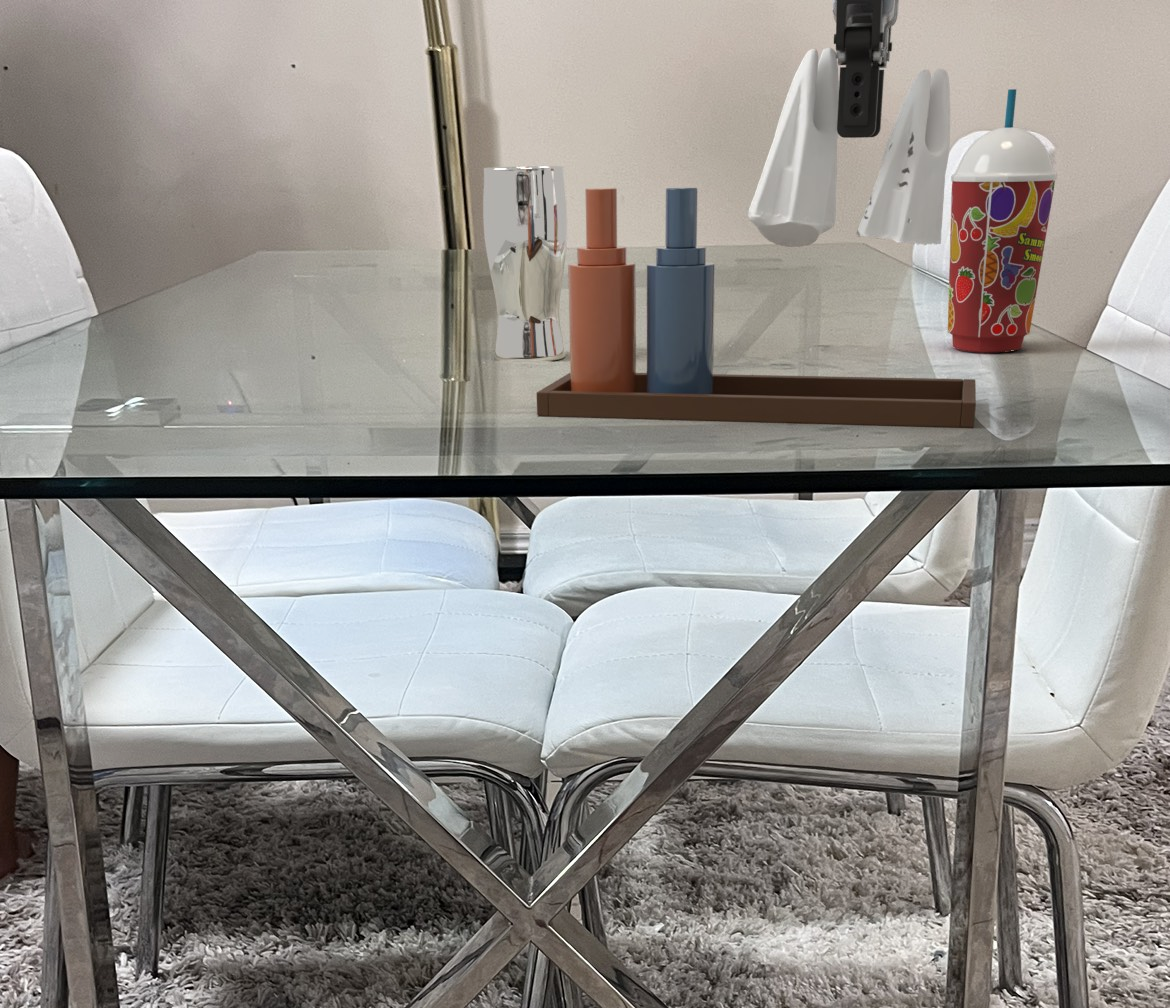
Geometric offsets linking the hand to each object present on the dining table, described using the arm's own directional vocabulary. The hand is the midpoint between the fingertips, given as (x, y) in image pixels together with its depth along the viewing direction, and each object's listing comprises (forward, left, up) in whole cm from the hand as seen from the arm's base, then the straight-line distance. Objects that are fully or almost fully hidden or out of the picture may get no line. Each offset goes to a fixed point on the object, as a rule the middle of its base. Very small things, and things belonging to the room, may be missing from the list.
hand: (858, 135), depth 84 cm
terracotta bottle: (+16, 0, -16) cm, 23 cm away
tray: (+6, 0, -17) cm, 18 cm away
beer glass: (+29, -25, -17) cm, 42 cm away
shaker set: (+1, 0, -7) cm, 7 cm away
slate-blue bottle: (+11, 0, -16) cm, 20 cm away
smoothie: (-9, -35, -17) cm, 40 cm away
